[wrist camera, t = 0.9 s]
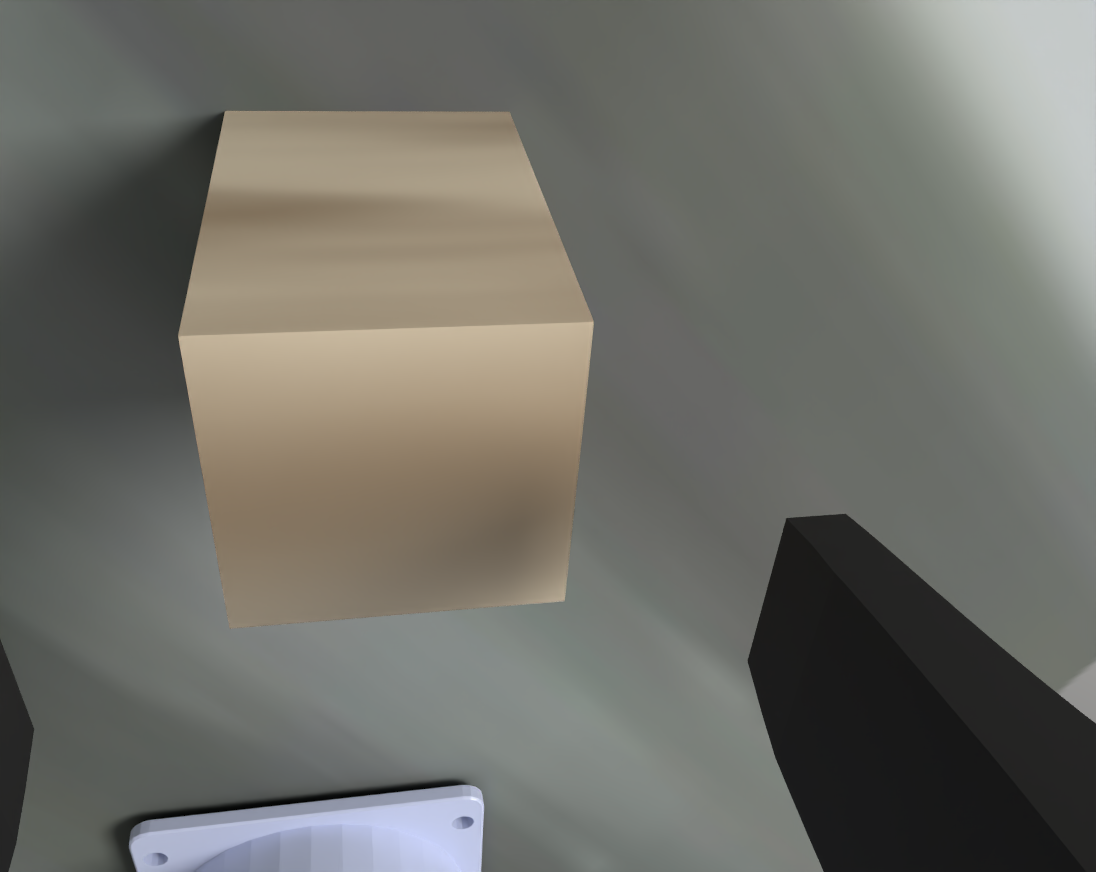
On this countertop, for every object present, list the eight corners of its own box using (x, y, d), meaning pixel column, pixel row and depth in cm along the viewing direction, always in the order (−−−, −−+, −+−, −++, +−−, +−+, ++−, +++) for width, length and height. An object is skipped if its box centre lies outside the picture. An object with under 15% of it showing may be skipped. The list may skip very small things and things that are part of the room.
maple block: (499, 344, 17) (564, 601, 13) (255, 353, 17) (229, 629, 12) (509, 111, 15) (593, 321, 10) (225, 110, 14) (178, 335, 10)
